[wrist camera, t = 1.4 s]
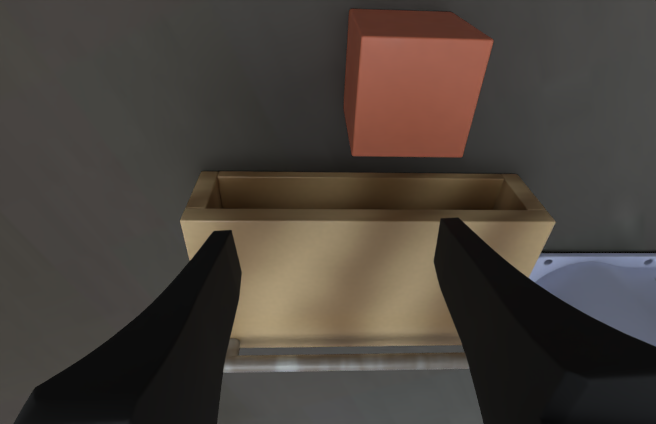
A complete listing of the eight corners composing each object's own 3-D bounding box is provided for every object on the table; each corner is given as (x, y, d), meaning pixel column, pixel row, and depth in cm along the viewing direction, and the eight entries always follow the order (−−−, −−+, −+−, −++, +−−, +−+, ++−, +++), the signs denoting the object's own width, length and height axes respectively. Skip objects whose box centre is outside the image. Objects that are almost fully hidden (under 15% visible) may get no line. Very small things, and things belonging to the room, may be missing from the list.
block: (452, 11, 17) (495, 39, 13) (432, 110, 20) (462, 158, 16) (349, 8, 17) (361, 35, 13) (343, 109, 20) (351, 156, 16)
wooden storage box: (517, 173, 23) (578, 249, 18) (473, 291, 29) (509, 373, 23) (200, 170, 22) (167, 248, 17) (223, 292, 28) (203, 378, 23)
